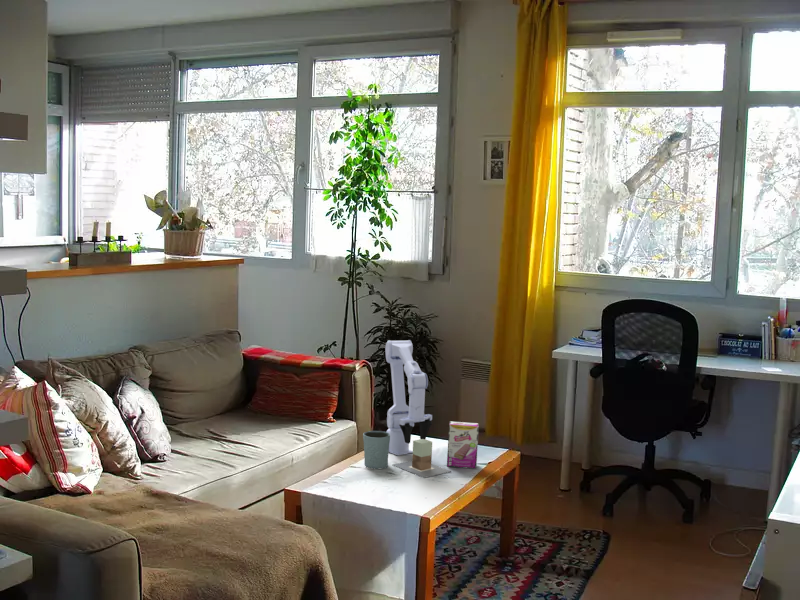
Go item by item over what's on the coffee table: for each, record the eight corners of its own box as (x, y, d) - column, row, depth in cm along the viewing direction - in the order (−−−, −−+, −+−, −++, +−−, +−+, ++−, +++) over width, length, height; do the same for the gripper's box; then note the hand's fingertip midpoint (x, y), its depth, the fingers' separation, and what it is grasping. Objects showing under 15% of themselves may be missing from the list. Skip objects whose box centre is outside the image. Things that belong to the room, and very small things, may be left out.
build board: (392, 465, 318) (392, 464, 318) (418, 459, 326) (418, 458, 326) (424, 478, 304) (424, 477, 304) (450, 471, 313) (451, 470, 313)
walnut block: (412, 467, 315) (412, 453, 315) (422, 464, 319) (422, 451, 318) (421, 470, 312) (421, 457, 311) (431, 468, 315) (431, 455, 314)
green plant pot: (380, 471, 310) (381, 439, 309) (356, 466, 315) (357, 434, 314) (394, 464, 319) (395, 433, 318) (371, 459, 324) (372, 428, 323)
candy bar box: (446, 467, 318) (448, 424, 317) (447, 463, 323) (449, 420, 322) (476, 469, 317) (478, 425, 316) (476, 465, 322) (478, 422, 321)
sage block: (412, 453, 315) (413, 440, 314) (422, 451, 318) (423, 438, 318) (421, 457, 311) (422, 443, 311) (431, 455, 314) (432, 441, 314)
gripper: (408, 410, 308) (407, 446, 310) (438, 405, 318) (436, 440, 319) (396, 406, 314) (394, 442, 315) (425, 401, 323) (424, 436, 325)
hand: (415, 441), depth 318 cm, fingers open, 7 cm apart
